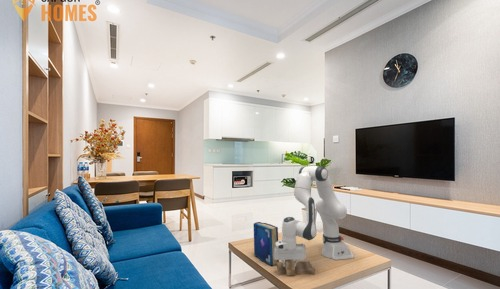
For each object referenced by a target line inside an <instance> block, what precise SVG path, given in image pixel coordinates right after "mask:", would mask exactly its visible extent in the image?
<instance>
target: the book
mask: <svg viewBox="0 0 500 289" xmlns="http://www.w3.org/2000/svg"><path fill="white" fill-rule="evenodd" d="M277 241H279V228H278V226H276V225H273V224H270V223H267V222H262V221H261V222H260V221H257V222H254V223H253V249H254V250H253V254H254V256H255V257H256V258H258V259H259V260H261V261H262V262H264V263H265V264H268V265H269V266H271V267H272V266H277V262H280V260H275V259H274V257H273V254H274V248H275V242H277Z"/></svg>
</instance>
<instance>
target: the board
mask: <svg viewBox="0 0 500 289" xmlns="http://www.w3.org/2000/svg"><path fill="white" fill-rule="evenodd" d="M283 262H284V263H285V261H283ZM283 262H282V261H279V262H277V264H276V267H277V271H278V274H279V275H280V276H283V275H284V276H285V275H286V276H287V274H286V268H285V267H284V266H283ZM294 263H295V261H294ZM295 275H315V269H314V267H313V265H312V264H311V262H310V261H309V260H306V261H303V260H301V261H299V260H298V262H297V264H296V267H295Z"/></svg>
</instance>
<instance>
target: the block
mask: <svg viewBox="0 0 500 289" xmlns="http://www.w3.org/2000/svg"><path fill="white" fill-rule="evenodd" d="M284 262H285V263H286V267H285V268H286V274H287V275H286V276H296V274H295V263H294V262H295V260H284Z"/></svg>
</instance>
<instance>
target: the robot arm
mask: <svg viewBox="0 0 500 289" xmlns="http://www.w3.org/2000/svg"><path fill="white" fill-rule="evenodd" d="M328 171H329V170H328V169H327V168H326V167H325V166H321V165H309V166H308V165H307V166H306V165H305V166H302V167H301V168H299V172H298V174H297V177H296V180H295V183H294V184H295V185H294V189H293V193H294V194H293V195H294V197H295V199H296V200H297V201H298V202H299V203H301V204H302V205H303V206H304V207H305V210H306V222H305V221H301V220H299V219H298V220H297V219H295V217H293V216H288V217H284V218H283V220H282V225H281V226H282V227H281V228H282V229H281V233H282V238H281V239H280V240H278V241H277V242H275V248H274V254H273V257H274V259H275V260H279V261H281V262H283V266H284V267H286V263H284V262H285V260H294V262H295V267H296V264H297V262H298V261H299V260H301V261H303V260H306V258H307V255H306V249H307V248H306V247H307V246H306V245H305V244H304V243H297V237H299V238H302V239H304V240H307V241H312V240H313V239H315V238H316V236H317V225H316V212H317V213H318V214H319V217H320V220H321V222H322V232H323V233H322V250H321V255H322V256H324V257H325V258H329V259H332V260H334V261H338V260H346V259H347V260H348V259H354V257H355V255H354V254H353V252H352V251H351V249H350V247H349V245H347V244H346V243H345V242H344V239H345V238H344V237H343V236H342V235H340V231H339V229H340V228H339V223H338V222H336V220H335V219H339V220H340V219H341V220H342V219H344V218H345V217H346V216H347V212H348V211H347V208H346V207H347V206H345V205H344V204H342V203H341V201H340V200H339V199H338V197H337V195H336V194H335V192H334V188H333V183H332V181H331V177H330V175H329V172H328ZM313 182H314V183H315V186H316V189H317V194H318V196H319V198H320V199H321V200H318V201H317V202H316V203H315V200H314V198H313V196H312V183H313Z"/></svg>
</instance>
